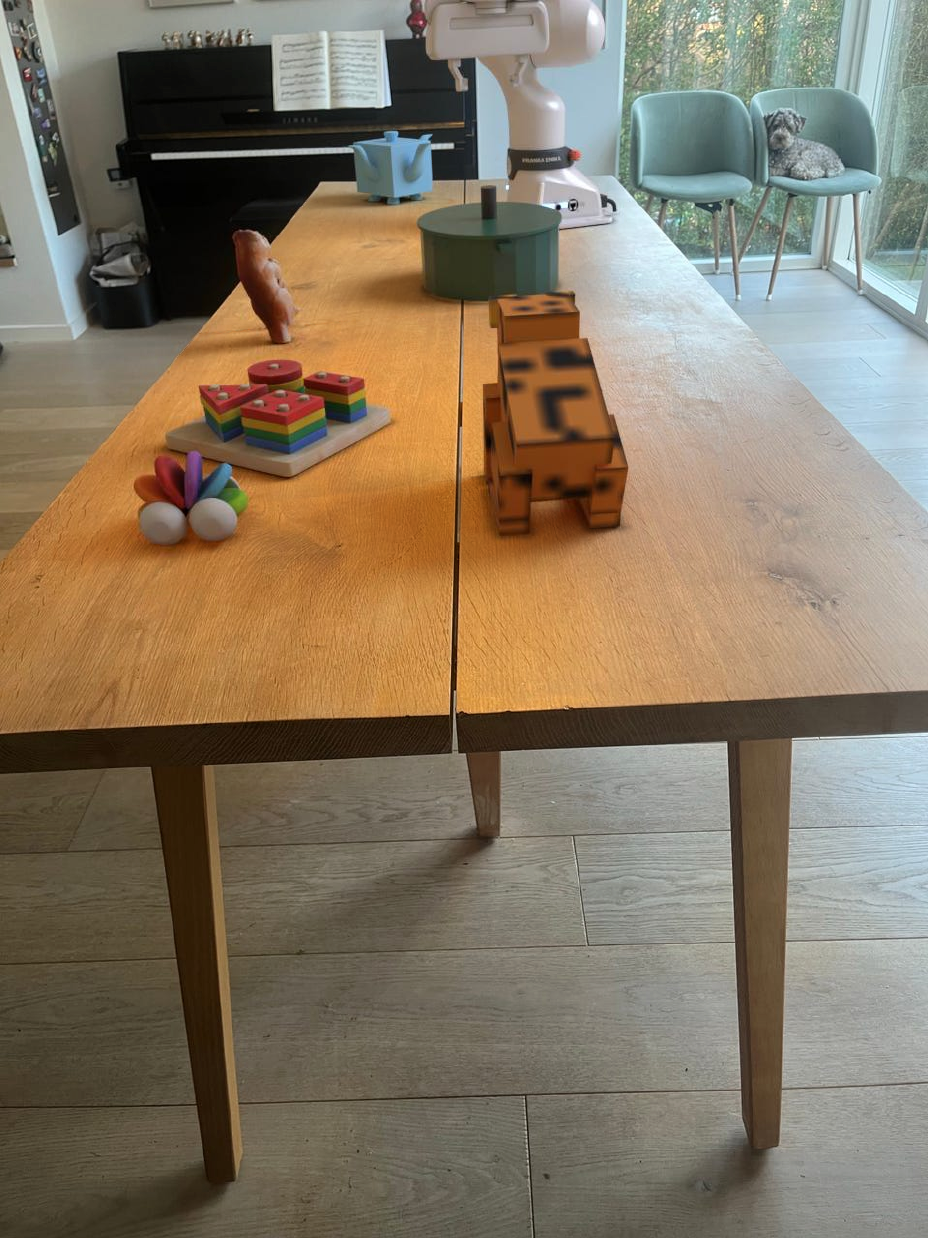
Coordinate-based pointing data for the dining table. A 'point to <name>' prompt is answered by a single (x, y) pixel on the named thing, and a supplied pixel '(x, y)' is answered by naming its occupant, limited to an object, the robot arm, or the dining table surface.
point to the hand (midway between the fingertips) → (488, 88)
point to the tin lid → (489, 219)
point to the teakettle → (393, 167)
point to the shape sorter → (280, 419)
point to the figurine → (264, 284)
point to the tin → (490, 266)
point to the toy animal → (548, 416)
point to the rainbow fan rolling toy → (188, 501)
